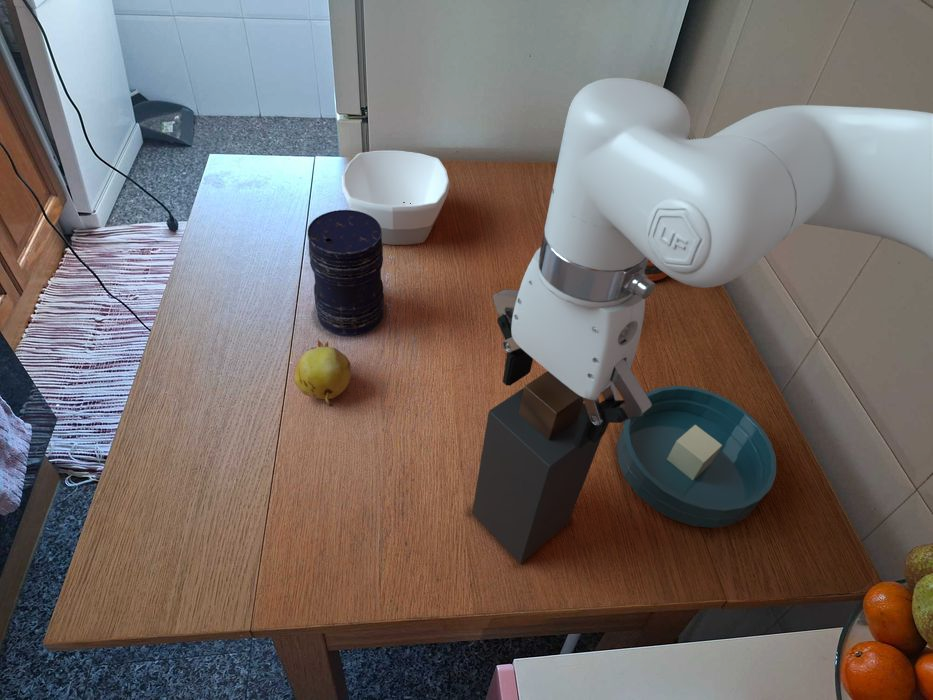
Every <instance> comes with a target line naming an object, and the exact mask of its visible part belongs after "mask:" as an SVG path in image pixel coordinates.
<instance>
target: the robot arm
mask: <svg viewBox="0 0 933 700" xmlns="http://www.w3.org/2000/svg"><path fill="white" fill-rule="evenodd" d="M568 107H569V108H568V110H567V115H566V120H565V124H564V129H563V134H562V139H561V143H560V144H561V145H560V149H559V154H558V159H557V163H556V169H555V174H554V179H553V184H552V189H551V194H550V200H549V204H548V209H547V213H546V214H547V216H546V220H545V225H544V230H543V235H542V241H541V244H540V245H541V246H540V247H539V248H538V249H537V250H536V251H535V252H534V254H533V256H532V258H531V260H530V262H529V264H528V266H527V268H526V271H525V273H524V275H523V278H522V280H521V282H520V285H519V288H518V290H517V289H509V288H508V289H507V288H505V289H504V288H503V289H501V290H500V291H497V292H495V293H494V294H493V295H492V301H493V304H494V307H495V312H496V314H497V315H498V317H497V319H496V321H497V324H498V327H499V329H500V331H501V333H502V335H503V338H504V340H503V341H502V348H503V350H504V351H505V352H506V357H505V362H504V363H505V364H504V371H503V377H502V383H503V384H504V385H505V386H506V387H507V386H509V387H511V386H512V385H514V384H515V383H516V382H518V381H519V380H521V379H523V378H524V377H526V376H527V375H529V374H530V373H531V371H532V366H533V362H534V361H536V363H538V364H539V365H540V366H541V367H543V368H544V369H545V371H546V372H547V371H549V372H550V373H551V374H552V375H554V376H555V377H556V378H557V379H558V380H560V381H561V382H562V383H563V384H565V385H566V386H567V387H569V388H570V389H571V390H572V391H574V392H575V393H576V394H578V395H580V396H581V397H583V400H584V402H583V403H584V404H585V406H586V409H587V412H588V413H587V414H586V415H584V416H583V417H582V419H581V422H580V425H579V428H578V431H577V434H576V437H575V440H574V443H575V444H574V445H575V446H576V447H578V448H579V449H580V448H581V447H583V446H584V445H585V444H586V443H588V442H589V441H592V442H593V443H595V442H597V441H598V440H599V439H600V438H601V437H602V438H603V436H604V435H605V433H606V431H607V428H608V426H609V424H610V423H611V424H623V422H624V420H628V419H632V418H636V417H639V416H641V415H643V414H644V413H645V412H646V411H648V410H649V409H650V408H651V407H652V404H651V401H650V400H649V398H648V397H647V395H646V393H647V392H645V390H644V388H643V387H642V385H641V383H640V382H639V380H638V378H637V377H636V376H635V373H634V372H633V371H632V370H631V369H632V366H633V363H634V361H635V357H636V353H637V351H638V347H639V343H640V340H641V335H642V329H643V324H644V317H645V312H646V311H645V310H646V299H647V298H648V297H649V296H650V295H651V294H652V293H653V291H654V290H655V287H656V283H655V281H650V280H649V279H648V277H647V275H645V268H646V265H647V263H648V259H649V260H650V261H651V262H652V263H653V264H654V265H655V266H656V267H658V268H659V269H660V270H661V271H663V272H664V273H666V274H667V275H668V276H667V277H669V278H671V279H673V280H675V281H677V282H679V283H681V284H683V285H687V286H690V287H695V288H703V289H704V288H706V289H707V288H715V287H719V286H723V285H725V284H728V283H730V282H732V281H734V280H735V279H737V278H739V277H740V276H742V275H743V274H745V273H746V272H747V271H749V269H751V268H752V267H753V266H754V265H756V264H757V263H758V262H759V261H760V260H762V259H763V258H764V257H765V256H766V255H768V254H769V253H770V252H771V251H773V249H775V248H776V247H777V246H779V244H781V243H782V242H783V241H784V240H786V239H787V238H788V237H789V236H791V235H792V234H793V233H795V231H797V230H798V229H799V228H800V227H801V226H803V225H808V226H817V227H825V228H829V229H830V228H831V229H837V230H844V231H849V232H856V233H861V234H866V235H870V236H876V237H879V238H882V239H885V240H890V241H893V242H896V243H898V244H901V245H903V246H906V247H909V248H911V249H913V250H915V251H917V252H918V253H921V254H922V255H924V256H925V257H927V258H929V260H931V261H933V113H932V112H929V111H921V110H910V109H899V108H885V107H884V108H883V107H864V106H863V107H861V106H841V105H840V106H839V105H821V104H820V105H818V104H817V105H816V104H813V105H812V104H797V105H796V104H795V105H784V106H777V107H773V108H768V109H764V110H760V111H757V112H754V113H753V114H750V115H748V116H746V117H744V118H742V119H740V120H738V121H736V122H734V123H732V124H730V125H728V126H727V127H725V128H723V129H721V130H720V131H718V132H716V133H715V134H713V135H711V136H709V137H702V138H693V139H691V138H690V139H689V136H690V133H691V116H690V115H691V114H690V113H689V110H688V108H687V106H686V104H685V103H684V102H683V101H682V99H680V97H678V95H676V93H673V92H672V91H670V90H669V89H667V88H665V87H662V86H660V85H658V84H655V83H652V82H648V81H645V80H642V79H641V80H640V79H637V78H627V77H609V78H601V79H597V80H595V81H593V82H590V83H589V84H586V85H585V86H583V87H582V88H581V89H579V91H578V92H577V93H576V94H575V96H574V97H573V99H572V101H571V102H570V105H569V106H568ZM646 257H647V258H648V259H647V258H646ZM601 394H602V396H603V400H602V401H601V402H600V399H599V397H600V395H601ZM619 395H620V396H621V398H622V399H621V400H620V396H619ZM602 438H601V439H602Z"/></svg>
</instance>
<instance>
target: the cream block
mask: <svg viewBox="0 0 933 700" xmlns="http://www.w3.org/2000/svg"><path fill="white" fill-rule="evenodd" d="M721 447H722V444H720V443H719V442H718V441H716V440H715V439H714V438H712V437H711V436H710V435H708V434H707V433H706V432H704V431H703V430H702V429H700V428H699V427H698V426H697V425H694V426H693V427H692V428H691V429H689V430H688V431H687V432H686V433H685V434H684V435H683V436H681V437H680V438H679V439H678V440H677V441H676V443H675V445H674V447H673V448H672V450H671V452H670V454H669V456H668V458H667V460H668V461H669V462H671V463H672V464H673V465H674V466H676V467H677V468H678V469H679V470H681V471H682V472H683V473H684V474H686V475H687V476H688V477H689V478H690V479H692V480H694V479H695V478H696V477H697V476H699V475H700V474H701V473H702V472H703V471H704V470H705V469H706V468H707V467H708V466H709V465H710V464H711V463H712V461H713V460H714V458H715V456H716V455H717V453H718V452H719V450H720V448H721Z"/></svg>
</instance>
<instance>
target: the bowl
mask: <svg viewBox="0 0 933 700" xmlns="http://www.w3.org/2000/svg"><path fill="white" fill-rule="evenodd" d="M340 178H341V191H342V193H343V195H344V198H345V200H346V202H347V204H348V206H349V208H350V209H349V210H354V211H359V212H363V213H366V214H368V215H370V216H372V217H373V218H375V219H376V220H377V221H378V223H379V224H380V226H381V230H382V237H381V238H382V244H384V245H392V246H402V245H405V246H406V245H417V244H422V243H424V242H426V241H427V238H428V237H429V235H430V233H431V231H432V229H433V226H434V225H435V222H436V220H437V218H438V217H439V214H440V212H441V210H442V207H443V205H444V203H445V201H446V199H447V197H448V193H449V190H450V187H451V182H450V178H449V175H448V171H447V169H446V167H445V166H444V164H443V163H442V161H441V160H440V158H439V157H435V156H432V155H427V154H424V153H421V152H414V151H413V152H412V151H406V150H405V151H404V150H373V151H372V150H371V151H365V152H359V153H357V154H356V155H355V156H354V157H353V158H352V159H351V160H350V161H349V162H348V163H347V165H346V166H345V169H344V171H343V172H342V175H341V177H340ZM403 202H405V203H403ZM410 203H411V204H410Z"/></svg>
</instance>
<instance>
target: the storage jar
mask: <svg viewBox="0 0 933 700" xmlns="http://www.w3.org/2000/svg"><path fill="white" fill-rule="evenodd" d="M381 237H382V230H381V226H380V224H379V223H378V221H377V220H376V219H375V218H373V217H372V216H370V215H368V214H366V213H363V212H359V211H354V210H351V209H337V210H332V211H328V212H325V213H323V214H321V215H319V216H317V217H315V218H314V219H313V220H312V221H311V222H310V223H309V225H308V227H307V239H308V255H309V264H310V268H311V271H312V272H313V275H314V276H313V277H314V285H313V297H314V305H315V308H316V311H317V320H318V323H319V325H320V326H321V327H322V328H323V329H324V330H325V331H327V332H329V333H331V334H333V335H335V336H339V337H345V338H346V337H347V338H351V337H353V338H354V337H359V336H363V335H366V334H369V333H370V332H372V331H374V330H375V329H377V328H378V326H380V324H381V323H382V321H383V319H384V304H385V293H384V283H383V280H382V268H383V263H384V254H383V253H384V245H383V243H382V238H381Z"/></svg>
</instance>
